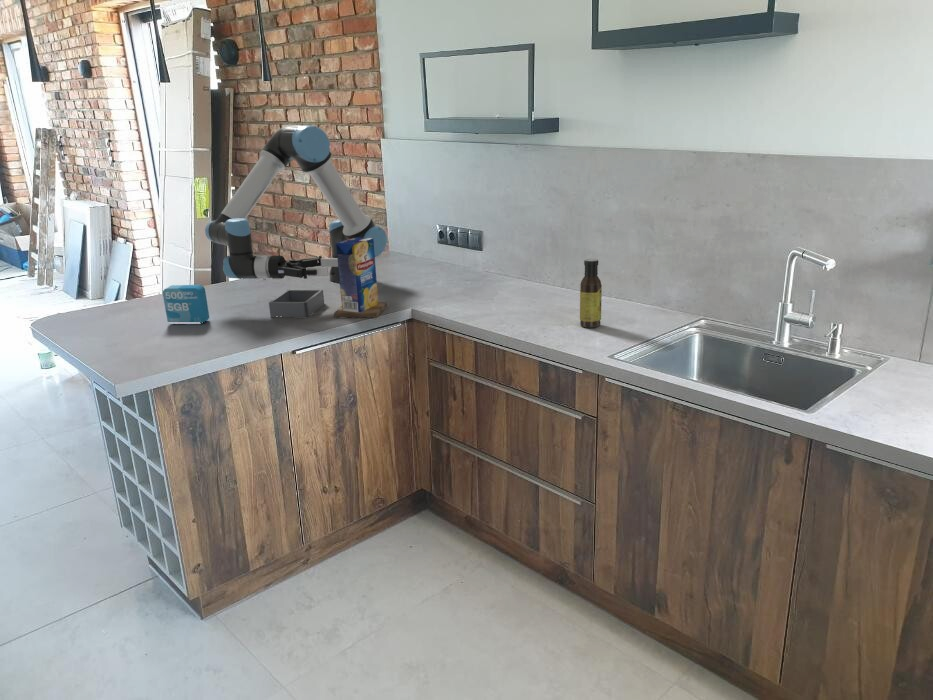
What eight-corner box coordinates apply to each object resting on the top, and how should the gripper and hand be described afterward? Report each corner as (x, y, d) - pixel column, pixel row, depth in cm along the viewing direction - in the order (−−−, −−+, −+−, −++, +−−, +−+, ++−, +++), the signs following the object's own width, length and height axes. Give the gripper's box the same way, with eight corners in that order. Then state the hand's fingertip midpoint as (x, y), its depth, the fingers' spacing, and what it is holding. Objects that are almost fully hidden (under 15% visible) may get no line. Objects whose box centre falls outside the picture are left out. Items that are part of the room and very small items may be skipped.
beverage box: (378, 304, 237) (373, 238, 229) (359, 312, 227) (353, 244, 220) (361, 302, 240) (356, 237, 232) (342, 310, 230) (335, 243, 223)
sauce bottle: (604, 327, 210) (606, 261, 203) (584, 329, 208) (585, 262, 202) (595, 321, 215) (597, 256, 209) (576, 323, 214) (577, 258, 208)
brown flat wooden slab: (346, 305, 241) (346, 301, 241) (386, 306, 240) (386, 301, 239) (334, 317, 228) (333, 313, 228) (376, 317, 227) (376, 313, 226)
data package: (167, 325, 226) (161, 288, 222) (174, 321, 231) (167, 285, 227) (204, 324, 226) (198, 288, 222) (210, 320, 230) (204, 284, 226)
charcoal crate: (289, 303, 247) (287, 289, 245) (324, 303, 245) (322, 289, 243) (270, 317, 231) (268, 302, 229) (307, 317, 229) (306, 302, 228)
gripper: (286, 269, 246) (345, 269, 243) (257, 287, 222) (323, 287, 220) (283, 248, 243) (344, 247, 241) (254, 264, 220) (320, 263, 217)
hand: (334, 266), depth 230 cm, fingers open, 13 cm apart
